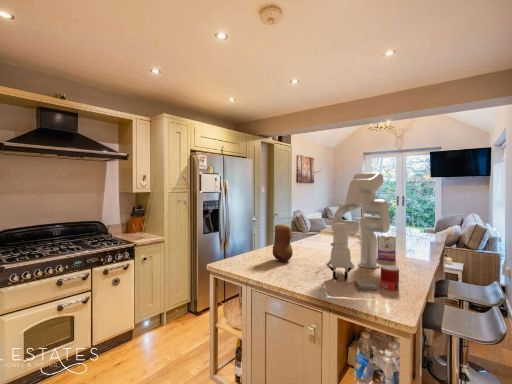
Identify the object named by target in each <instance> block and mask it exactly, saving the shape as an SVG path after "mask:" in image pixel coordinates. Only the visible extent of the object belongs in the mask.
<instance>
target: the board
mask: <svg viewBox="0 0 512 384" xmlns="http://www.w3.org/2000/svg"><path fill="white" fill-rule="evenodd" d="M351 282H352V284H353V285H354V288H355V289H356V291H357V292H358V293H369V294H383V292H382V291H381V290H380V288H379V287H378V286H377V284H376V283H375V285H376V286H377V290H368V289H359V287H358V285H357V284H356V280H351Z"/></svg>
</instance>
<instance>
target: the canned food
mask: <svg viewBox="0 0 512 384" xmlns="http://www.w3.org/2000/svg"><path fill="white" fill-rule="evenodd" d="M399 285H400V268H399V267H398V266H395V265H390V264H382V265H381V266H380V288H381V289H382V290H386V291H392V292H396V291H399V287H400V286H399Z"/></svg>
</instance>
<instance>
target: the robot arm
mask: <svg viewBox="0 0 512 384" xmlns="http://www.w3.org/2000/svg"><path fill="white" fill-rule="evenodd" d="M352 178H353V179H352V180H350V182H349V185H348V189H347V194H346V196H345V200H344V201H345V202H344V203H343V204H342V205H341V206H340V207H338V209H337V210H336V211H335V213H334V215H333V219H332V223H331V230H332V232H333V233H332V235H333V236H332V237H333V239H332V240H333V241H332V242H330V246H331V252H330V259H329V260H328V262H327V263H326V267H327V268H329V269H330V271H332V278H333V279H334V280H337V277H336V270H337V268H338V269H339V268H340V269H344V272H343V274H344V281H347V280H348V278H349V275H348V274H349V272H350V271H352V270H353V269H354V268H355V265H354V264H353V262H352V260H351V251H350V248H349V236H355V235H357V234H358V232H359V230H360V260H359V261H358V262H357V265H358V266H360V267H361V268H367V269H377V268H380V263H378V262H377V261H378V258H377V235H376V234H375V233H379V234H380V233H383V234H385V233H388V232H389V230H390V224H391V221H390V217H391V216H390V204H389V203H388V201H387V200H386V199H377V197H376V196H377V195H376V192H377V191H378V189H380V188H381V186H382V185H383V184H384V176H383V174H382V173H381V172H359V173H358V172H357V173H355V174H353V177H352ZM360 207H361V211H362V213H363V214H366V215H364V216H362V217H360V219H359V223H357V222H355V221H349V220H342V218H343V216H344V215H346V214H347V213H349V212H352V211H354V210H357V209H359V208H360ZM370 215H371V216H370ZM373 215H375V216H373ZM376 215H377V216H376Z"/></svg>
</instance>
